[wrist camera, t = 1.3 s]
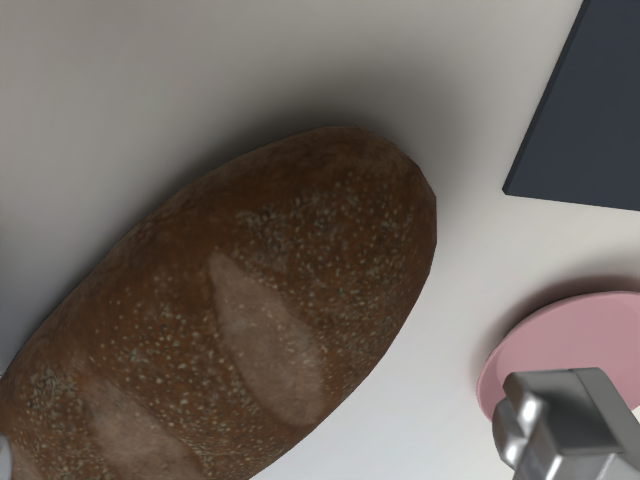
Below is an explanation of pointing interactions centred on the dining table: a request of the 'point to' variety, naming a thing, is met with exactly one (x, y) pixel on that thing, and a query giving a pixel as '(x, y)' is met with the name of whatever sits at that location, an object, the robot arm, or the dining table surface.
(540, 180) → the mat
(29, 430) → the bread
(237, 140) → the dining table surface
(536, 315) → the plate
